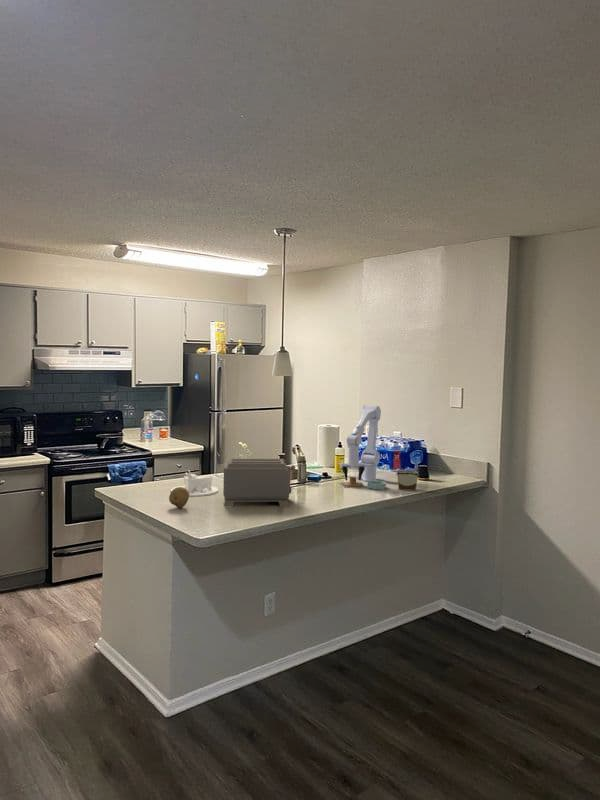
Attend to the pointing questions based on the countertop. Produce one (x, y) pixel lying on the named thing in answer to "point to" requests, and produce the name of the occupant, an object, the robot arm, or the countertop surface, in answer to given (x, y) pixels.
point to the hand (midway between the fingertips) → (352, 480)
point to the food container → (407, 479)
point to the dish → (198, 485)
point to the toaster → (256, 481)
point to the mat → (348, 486)
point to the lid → (352, 483)
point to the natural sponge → (179, 497)
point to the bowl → (377, 484)
